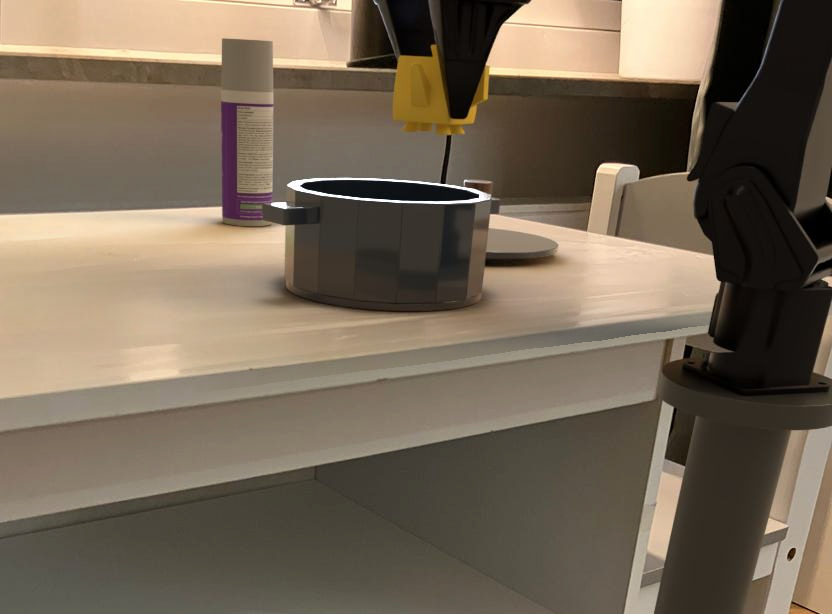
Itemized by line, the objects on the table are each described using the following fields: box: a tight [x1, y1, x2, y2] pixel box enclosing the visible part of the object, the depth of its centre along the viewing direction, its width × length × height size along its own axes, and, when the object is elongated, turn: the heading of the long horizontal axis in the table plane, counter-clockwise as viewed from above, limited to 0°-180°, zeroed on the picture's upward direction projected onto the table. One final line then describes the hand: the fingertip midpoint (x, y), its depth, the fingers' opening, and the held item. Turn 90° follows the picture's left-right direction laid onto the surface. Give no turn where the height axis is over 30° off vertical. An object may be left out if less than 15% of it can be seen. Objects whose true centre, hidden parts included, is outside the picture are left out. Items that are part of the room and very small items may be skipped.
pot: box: [262, 177, 501, 312], centre depth 72 cm, size 14×19×6 cm
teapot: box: [392, 45, 490, 136], centre depth 69 cm, size 8×6×5 cm
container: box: [220, 37, 274, 227], centre depth 95 cm, size 5×5×15 cm
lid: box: [463, 179, 559, 264], centre depth 89 cm, size 15×15×6 cm
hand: (439, 115), depth 71 cm, fingers closed on teapot, 6 cm apart
